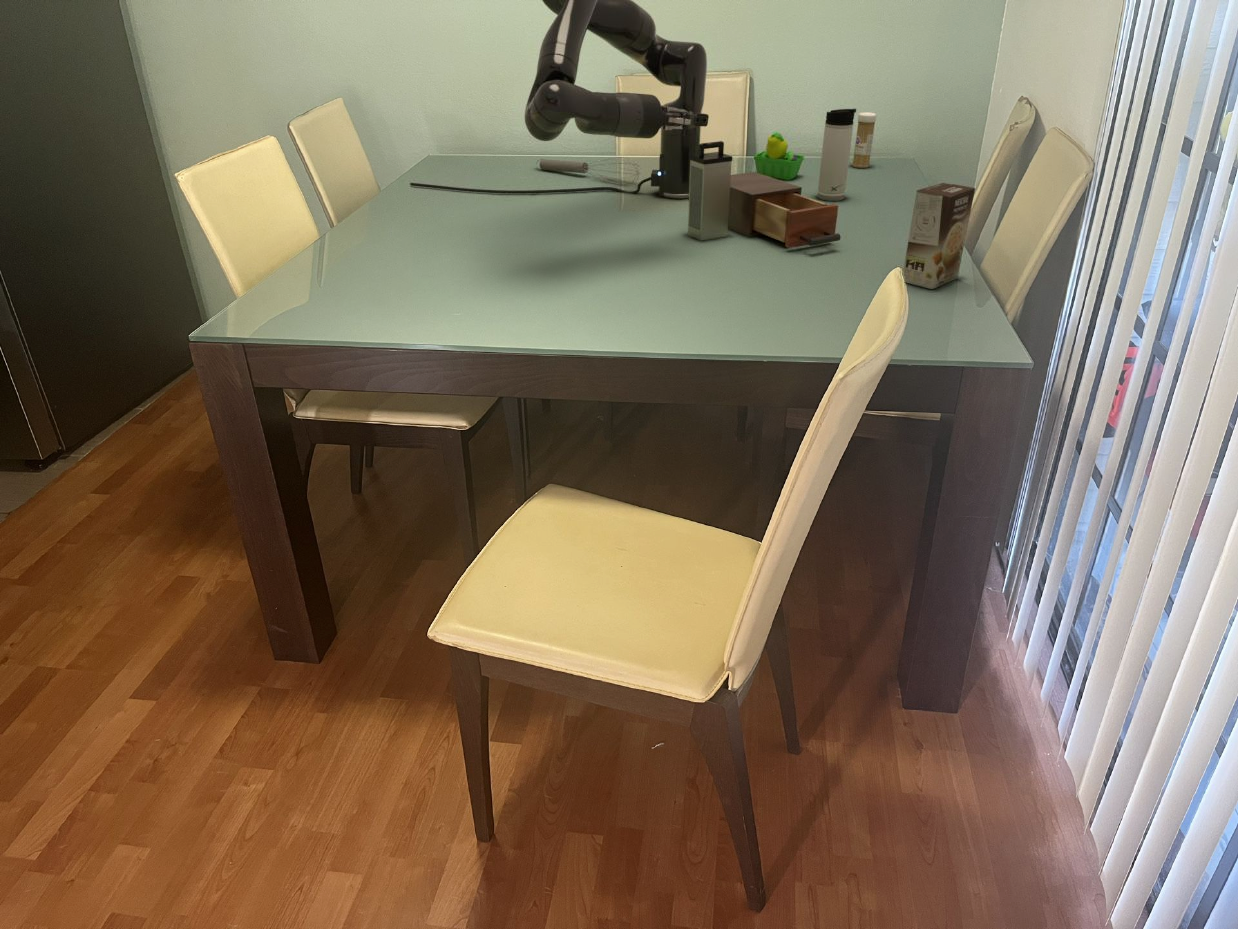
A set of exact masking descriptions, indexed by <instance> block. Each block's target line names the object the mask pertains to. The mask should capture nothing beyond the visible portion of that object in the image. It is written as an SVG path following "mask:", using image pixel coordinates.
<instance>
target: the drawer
mask: <svg viewBox="0 0 1238 929" xmlns="http://www.w3.org/2000/svg"><path fill="white" fill-rule="evenodd" d="M838 212H839V205H838V204H836V203H833V204H828V203H825V202H822V201H820V200H816V199H814V198H810V197H808V196H804V195H802V194H801V195H799V194H796V193H786V194H780V195H773V196H766V197H760V198H755V204H754V218H753V230H755V231H757V232H760V233H762V234H764V235H765V236H768V237H770V238H771V239H775V240H777V241H780V242H782V243H785V244H784V245H785V246H784V247H786V248H788V249H789V248H796V247H801V246H807V245H808V246H810V247H812V246H817V245H823V244H828V243H833V242H838V241H840V240H841V238H842V237H841V234H840V233H836V229H837V220H838Z"/></svg>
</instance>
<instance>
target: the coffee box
mask: <svg viewBox="0 0 1238 929" xmlns="http://www.w3.org/2000/svg"><path fill="white" fill-rule="evenodd" d="M975 193H976V188H975V187H971V186H966V185H960V184H955V183H954V184H953V183H946V182H941V183H938V184H934V185H930V186H927V187H923V188H920V189H917V190H916V193H915V199H914V205H913V211H912V217H911V223H910V229H909V234H908V240H907V247H906V252H905V259H904V265H903V271H904V276H905V282H904V283H906V284H910V285H914V286H918V287H922V288H926V289H929V290H934V289H936V288H938V287H941V286H943V285H945V284H947V283H950V282H952V281H954V280H956V279H958V278H959V273H960V268H961V264H962V258H963V253H964V248H965V243H966V237H967V232H968V227H969V222H970V218H971V212H972V206H973V201H974V196H975ZM903 271H902V272H903Z"/></svg>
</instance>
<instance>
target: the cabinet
mask: <svg viewBox="0 0 1238 929" xmlns="http://www.w3.org/2000/svg"><path fill="white" fill-rule="evenodd" d="M802 189H803V187H802V186H799V185H796V184H792V183H789V182H786V181H784V180H782V179H777V178H772V177H769V176H765V175H762V174H759V173H757V171H749V172H743V173H742V172H741V173H735V174H731V179H730V197H729V215H728V230H731V231H733V232H736V233H738V234H741V235H742V236H745V237H748V238H752V237H758V236H763V235H765V234H762V233H760V232H757V231H755V230H753V218H754V204H755V198H760V197H766V196H773V195H780V194H786V193H796V194H799V195H802Z"/></svg>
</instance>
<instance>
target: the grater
mask: <svg viewBox="0 0 1238 929" xmlns="http://www.w3.org/2000/svg"><path fill="white" fill-rule="evenodd" d="M715 148H716V149H717V148H718V150H717V151H713V152H705V150H709V149H715ZM724 149H725V142H724V140H723V141H722V140H719V141H718V140H717V141H711V142H702V143H701V142H700V145H699V154H696V155H690V185H689V198H688V213H687V214H688V217H687V218H688V219H687V221H688V222H687V223H688V224H687V235H688V236H689V237H692V238H694V239H696V240H698V241H701V242H702V241H708V240H713V239H719V238H724V237H725V238H726V237H728V231H729V228H728V215H729V197H730V179H731V175H732V162H733V156H732V155H729V154H726V153H724V151H725V150H724Z"/></svg>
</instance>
